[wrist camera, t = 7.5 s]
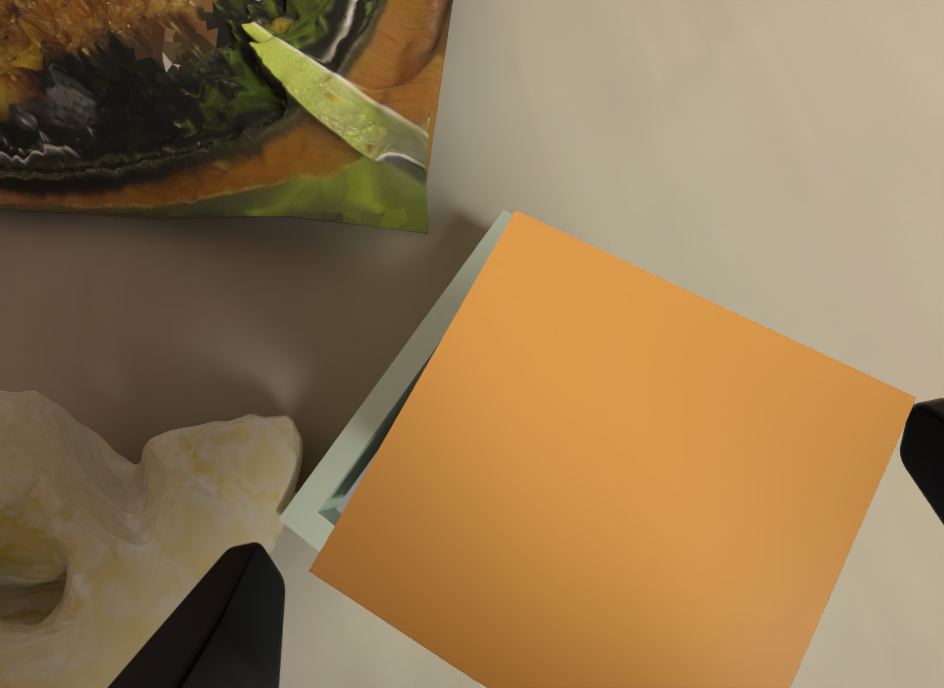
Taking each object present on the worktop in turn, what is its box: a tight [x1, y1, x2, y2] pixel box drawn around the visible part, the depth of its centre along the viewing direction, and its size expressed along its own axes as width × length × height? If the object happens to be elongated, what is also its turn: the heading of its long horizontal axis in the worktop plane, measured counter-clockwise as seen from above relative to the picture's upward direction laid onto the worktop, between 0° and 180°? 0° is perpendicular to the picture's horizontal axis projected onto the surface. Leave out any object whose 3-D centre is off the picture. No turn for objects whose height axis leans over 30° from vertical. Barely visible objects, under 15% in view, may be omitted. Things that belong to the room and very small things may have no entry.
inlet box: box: [279, 210, 513, 688], centre depth 17 cm, size 11×11×3 cm
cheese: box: [0, 390, 303, 688], centre depth 15 cm, size 15×7×15 cm
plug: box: [309, 210, 916, 688], centre depth 11 cm, size 4×4×13 cm
